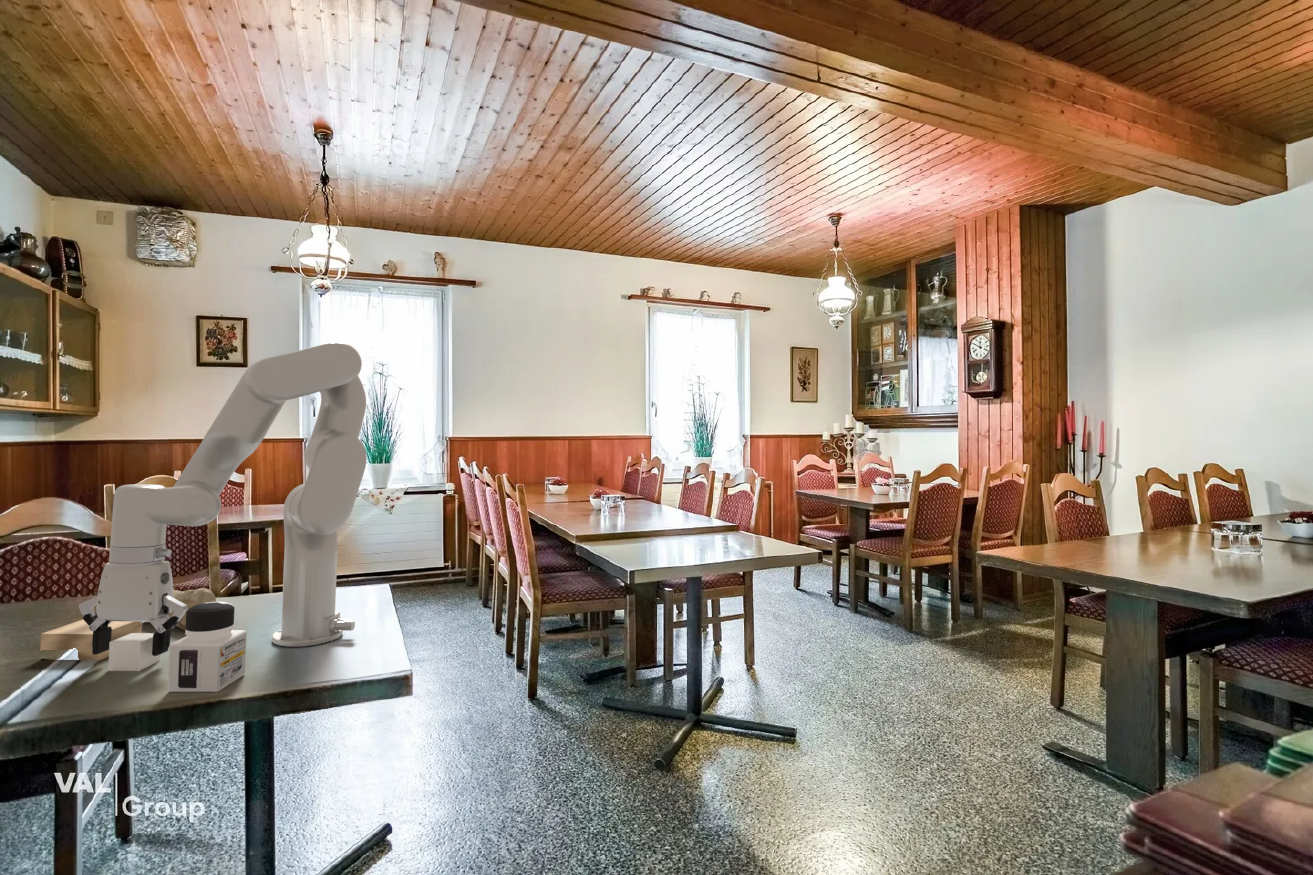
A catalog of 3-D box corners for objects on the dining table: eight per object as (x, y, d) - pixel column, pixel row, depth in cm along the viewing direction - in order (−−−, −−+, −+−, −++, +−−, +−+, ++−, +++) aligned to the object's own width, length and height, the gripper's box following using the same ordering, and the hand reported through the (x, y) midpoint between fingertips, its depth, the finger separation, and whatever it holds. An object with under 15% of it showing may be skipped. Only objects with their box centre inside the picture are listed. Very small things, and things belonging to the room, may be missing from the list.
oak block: (141, 643, 122) (142, 618, 122) (99, 662, 112) (100, 634, 112) (86, 643, 121) (87, 617, 121) (39, 661, 111) (40, 633, 111)
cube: (159, 661, 113) (161, 633, 113) (139, 671, 108) (140, 642, 108) (130, 660, 112) (131, 633, 113) (108, 671, 108) (109, 642, 108)
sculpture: (161, 624, 124) (201, 581, 130) (120, 609, 132) (159, 568, 138) (196, 645, 130) (233, 602, 135) (154, 629, 138) (191, 589, 144)
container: (218, 692, 100) (221, 611, 100) (166, 692, 99) (170, 610, 100) (245, 674, 108) (248, 598, 108) (198, 674, 107) (201, 598, 107)
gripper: (203, 553, 115) (196, 647, 114) (102, 549, 113) (95, 644, 113) (175, 560, 107) (168, 661, 107) (66, 556, 106) (59, 658, 105)
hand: (130, 652), depth 110 cm, fingers open, 9 cm apart
